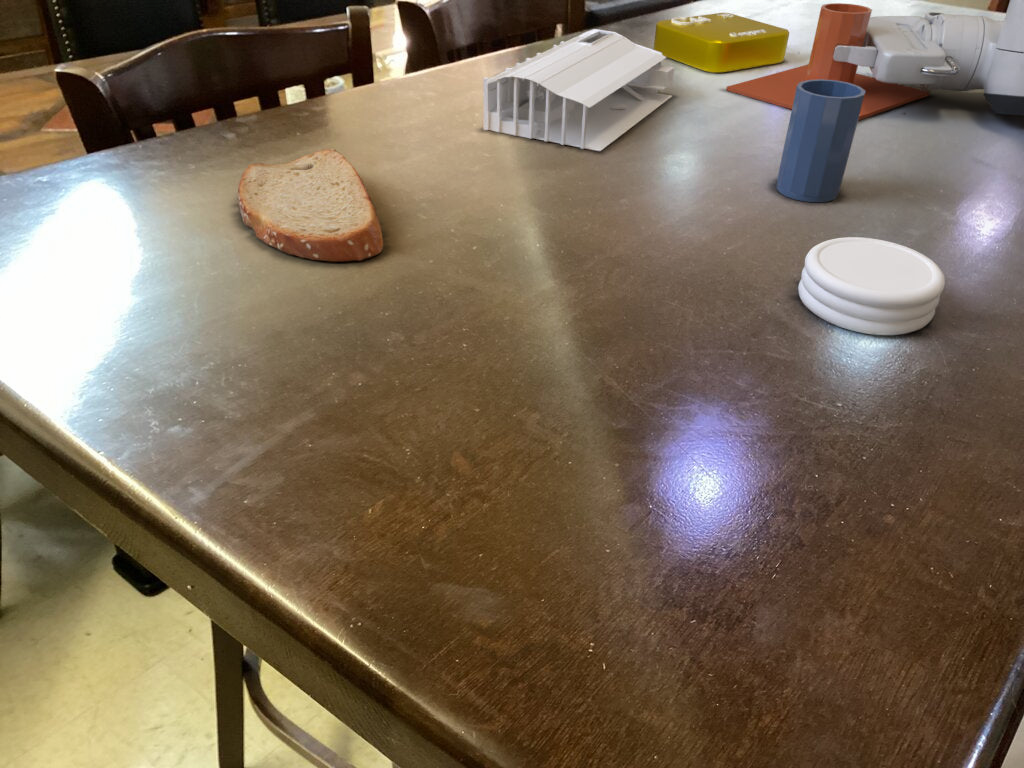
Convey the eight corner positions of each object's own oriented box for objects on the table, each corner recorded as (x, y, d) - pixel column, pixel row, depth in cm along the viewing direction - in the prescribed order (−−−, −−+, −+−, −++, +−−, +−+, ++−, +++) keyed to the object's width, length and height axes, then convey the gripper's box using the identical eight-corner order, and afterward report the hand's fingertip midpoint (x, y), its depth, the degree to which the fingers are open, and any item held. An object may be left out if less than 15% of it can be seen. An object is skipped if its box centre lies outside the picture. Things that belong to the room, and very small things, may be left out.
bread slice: (365, 269, 67) (361, 227, 65) (176, 239, 71) (166, 198, 69) (443, 188, 81) (442, 151, 78) (282, 167, 85) (276, 131, 83)
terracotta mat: (929, 95, 108) (930, 91, 108) (845, 125, 98) (846, 121, 98) (812, 66, 120) (813, 62, 119) (725, 90, 109) (726, 86, 109)
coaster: (813, 262, 69) (823, 224, 67) (940, 293, 65) (955, 253, 63) (781, 314, 62) (791, 273, 60) (921, 352, 58) (937, 310, 56)
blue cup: (850, 192, 81) (878, 90, 75) (815, 207, 78) (841, 102, 72) (799, 174, 85) (821, 75, 79) (763, 188, 82) (784, 86, 76)
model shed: (597, 154, 89) (602, 89, 85) (481, 131, 95) (481, 69, 91) (673, 95, 107) (680, 39, 103) (572, 79, 112) (575, 25, 108)
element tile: (713, 75, 115) (718, 39, 112) (647, 51, 125) (651, 17, 123) (789, 62, 121) (796, 27, 118) (721, 40, 132) (726, 8, 129)
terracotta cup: (860, 90, 108) (881, 9, 102) (834, 98, 105) (854, 15, 99) (821, 80, 112) (839, 1, 106) (794, 88, 109) (811, 7, 103)
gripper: (954, 101, 97) (832, 92, 99) (921, 58, 113) (818, 51, 115) (972, 45, 93) (846, 37, 95) (936, 9, 109) (829, 3, 111)
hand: (830, 45), depth 105 cm, fingers closed on terracotta cup, 6 cm apart
